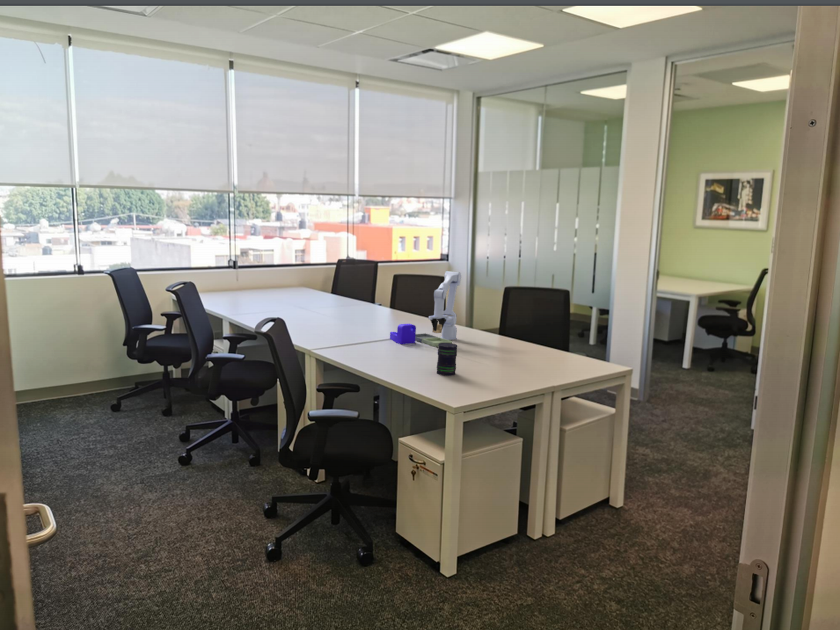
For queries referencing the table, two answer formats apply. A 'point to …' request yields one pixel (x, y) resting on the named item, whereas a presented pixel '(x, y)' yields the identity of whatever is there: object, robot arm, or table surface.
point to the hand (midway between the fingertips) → (437, 330)
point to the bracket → (404, 334)
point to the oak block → (438, 329)
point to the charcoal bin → (423, 337)
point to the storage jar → (446, 359)
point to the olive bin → (435, 341)
